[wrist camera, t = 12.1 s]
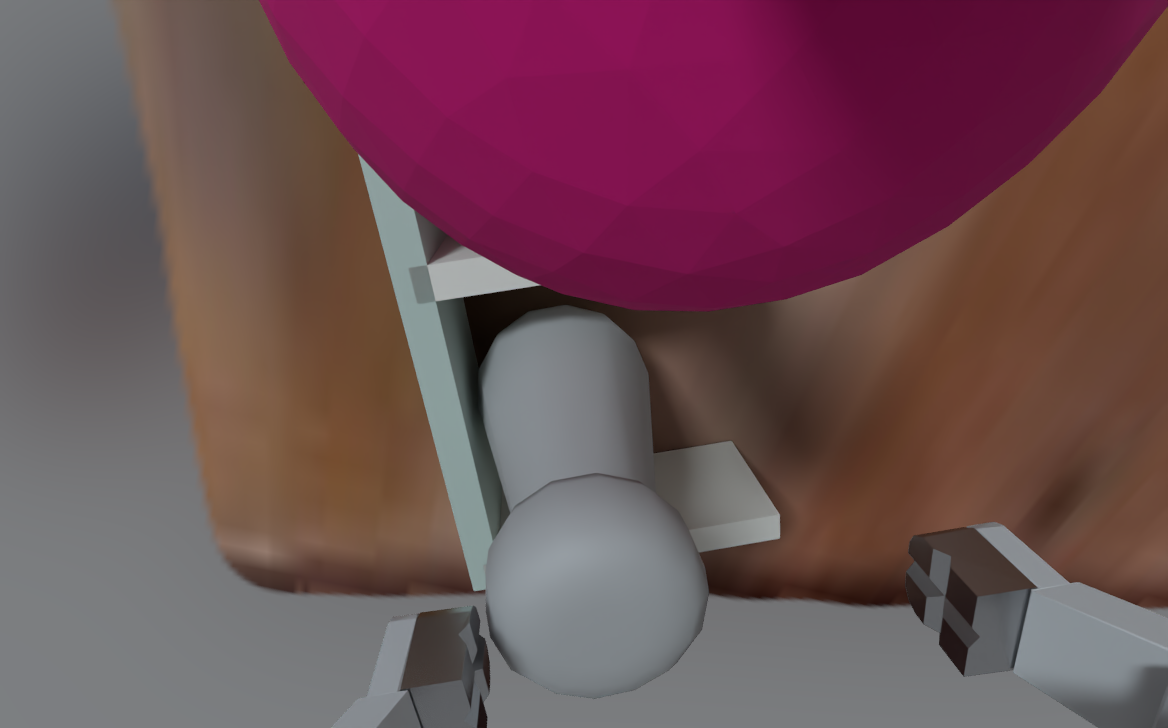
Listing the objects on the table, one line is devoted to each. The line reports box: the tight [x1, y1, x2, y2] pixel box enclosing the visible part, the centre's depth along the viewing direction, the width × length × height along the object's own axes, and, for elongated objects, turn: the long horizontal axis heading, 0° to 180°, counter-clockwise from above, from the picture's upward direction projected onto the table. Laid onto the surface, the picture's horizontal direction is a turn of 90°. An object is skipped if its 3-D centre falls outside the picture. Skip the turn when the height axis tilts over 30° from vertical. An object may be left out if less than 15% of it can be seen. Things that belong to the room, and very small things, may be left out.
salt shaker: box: [478, 305, 709, 699], centre depth 16 cm, size 6×6×13 cm
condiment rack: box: [358, 154, 780, 591], centre depth 18 cm, size 10×21×5 cm, turn 8°
